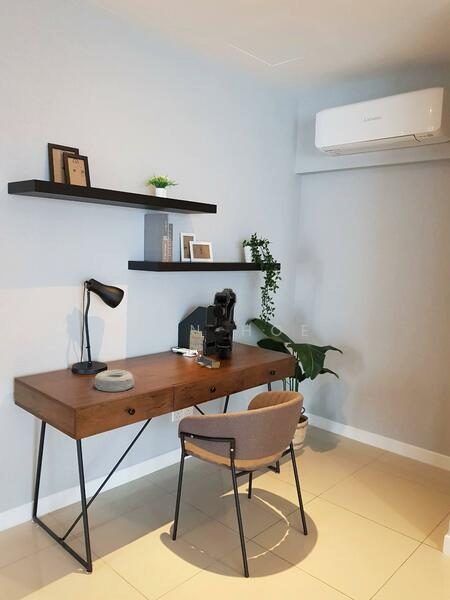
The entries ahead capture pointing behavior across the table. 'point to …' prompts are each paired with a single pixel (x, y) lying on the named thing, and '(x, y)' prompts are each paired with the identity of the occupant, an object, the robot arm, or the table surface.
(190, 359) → the table surface
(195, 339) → the ink cartridge box
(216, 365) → the swing arm
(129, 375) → the grey stone ring
